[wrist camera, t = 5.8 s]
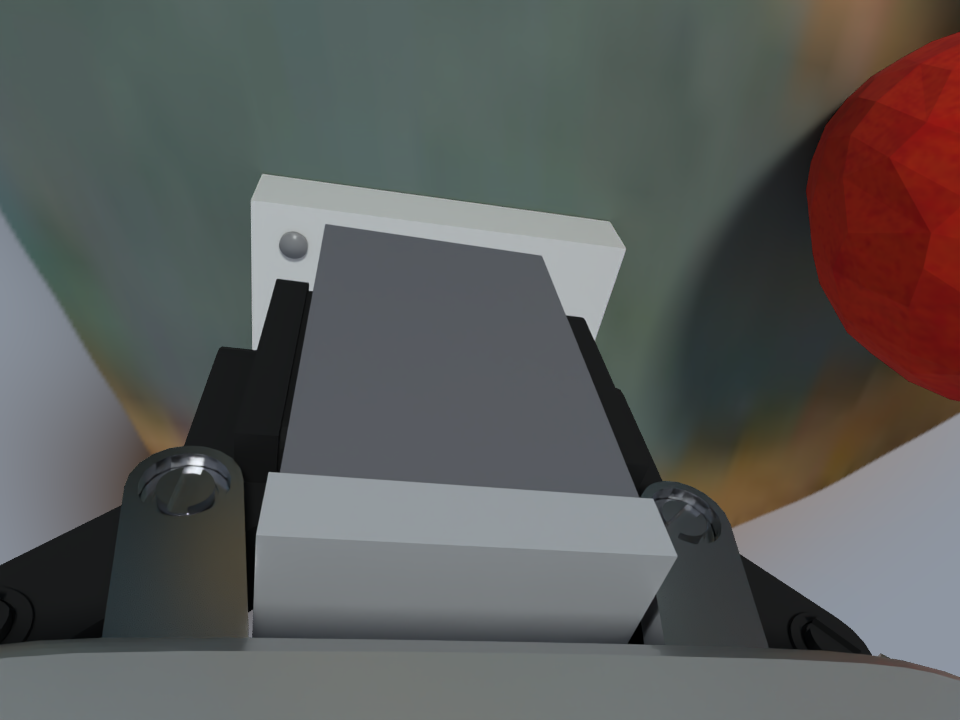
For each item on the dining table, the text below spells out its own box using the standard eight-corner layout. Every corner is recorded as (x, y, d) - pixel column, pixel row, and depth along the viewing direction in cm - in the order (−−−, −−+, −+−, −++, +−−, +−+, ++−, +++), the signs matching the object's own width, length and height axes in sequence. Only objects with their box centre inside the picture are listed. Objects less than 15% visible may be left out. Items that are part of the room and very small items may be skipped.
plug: (548, 251, 13) (677, 556, 7) (498, 420, 15) (565, 751, 9) (319, 218, 12) (255, 535, 6) (304, 403, 14) (247, 757, 8)
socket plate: (609, 221, 28) (629, 254, 26) (524, 487, 37) (533, 530, 35) (262, 173, 25) (248, 205, 23) (262, 472, 35) (252, 518, 32)
